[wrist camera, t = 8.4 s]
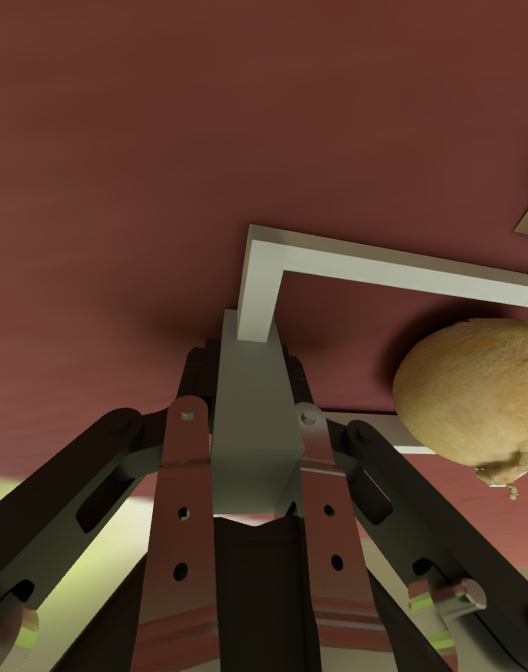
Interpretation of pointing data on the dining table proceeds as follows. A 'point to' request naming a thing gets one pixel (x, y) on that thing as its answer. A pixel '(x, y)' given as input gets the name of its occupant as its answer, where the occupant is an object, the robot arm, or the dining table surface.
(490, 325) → the onion
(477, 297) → the grey rectangular frame
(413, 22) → the dining table surface
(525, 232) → the cream board with block
